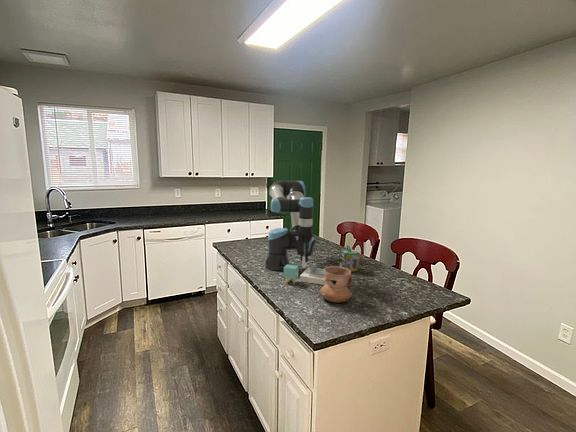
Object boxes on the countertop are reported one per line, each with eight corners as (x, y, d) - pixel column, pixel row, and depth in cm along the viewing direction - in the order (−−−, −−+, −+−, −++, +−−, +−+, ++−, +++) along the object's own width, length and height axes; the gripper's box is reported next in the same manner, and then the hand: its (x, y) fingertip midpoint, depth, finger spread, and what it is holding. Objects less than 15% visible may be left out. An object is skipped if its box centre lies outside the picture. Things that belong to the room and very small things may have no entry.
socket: (299, 281, 167) (299, 274, 166) (308, 271, 182) (308, 265, 181) (336, 287, 160) (336, 280, 159) (342, 276, 175) (342, 270, 174)
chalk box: (359, 271, 185) (360, 247, 182) (345, 272, 182) (346, 248, 179) (351, 266, 193) (353, 243, 191) (338, 267, 191) (339, 244, 188)
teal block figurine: (283, 282, 164) (283, 267, 163) (286, 279, 169) (287, 264, 168) (295, 284, 162) (295, 269, 161) (298, 281, 167) (298, 266, 165)
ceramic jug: (330, 308, 136) (332, 278, 133) (311, 296, 148) (313, 267, 146) (361, 301, 145) (363, 272, 142) (341, 290, 157) (343, 263, 155)
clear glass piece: (310, 274, 168) (310, 267, 168) (314, 270, 176) (314, 263, 175) (323, 276, 166) (323, 269, 165) (326, 271, 173) (327, 264, 173)
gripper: (292, 225, 168) (290, 267, 172) (315, 228, 164) (313, 270, 168) (296, 223, 175) (295, 263, 179) (318, 225, 171) (317, 266, 174)
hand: (304, 267), depth 173 cm, fingers closed
